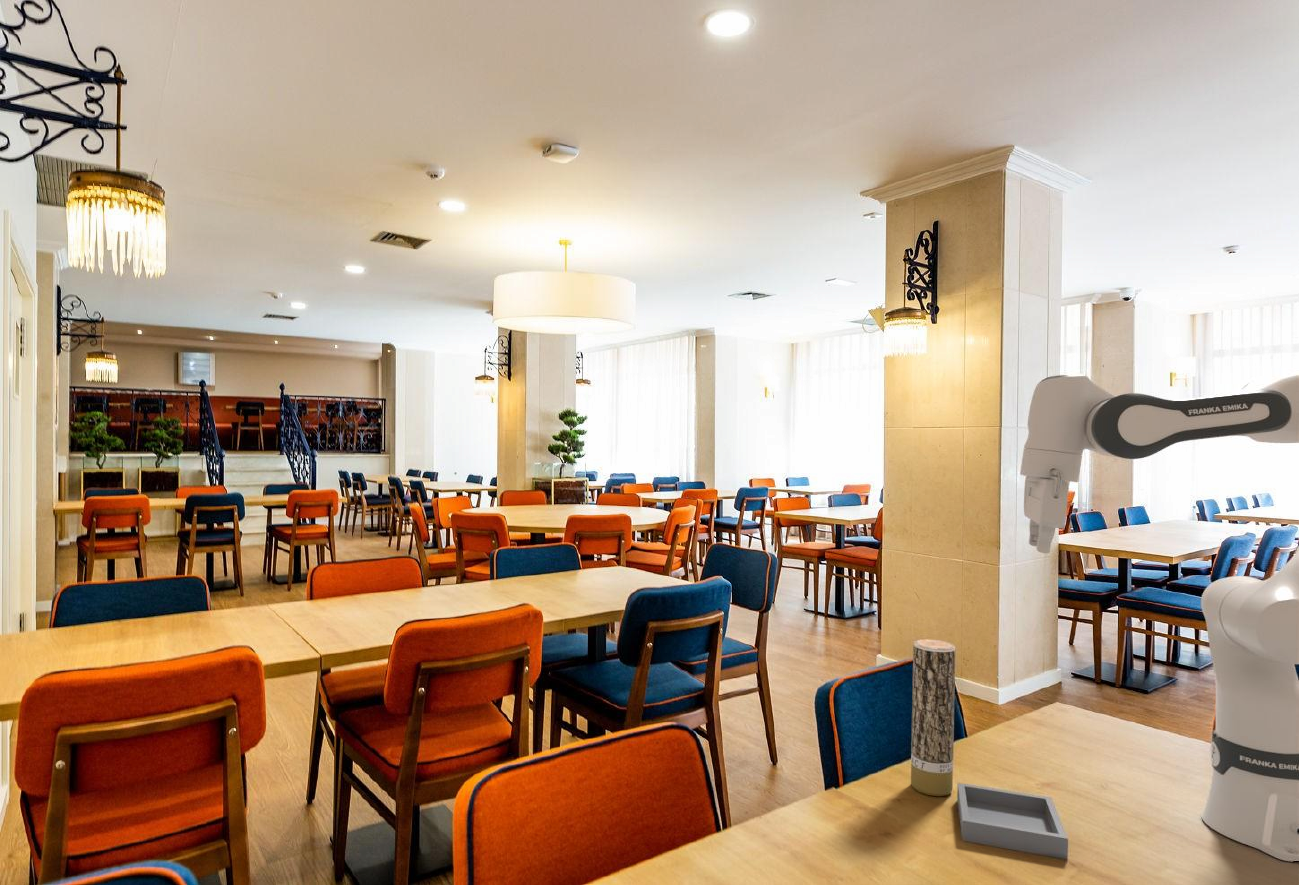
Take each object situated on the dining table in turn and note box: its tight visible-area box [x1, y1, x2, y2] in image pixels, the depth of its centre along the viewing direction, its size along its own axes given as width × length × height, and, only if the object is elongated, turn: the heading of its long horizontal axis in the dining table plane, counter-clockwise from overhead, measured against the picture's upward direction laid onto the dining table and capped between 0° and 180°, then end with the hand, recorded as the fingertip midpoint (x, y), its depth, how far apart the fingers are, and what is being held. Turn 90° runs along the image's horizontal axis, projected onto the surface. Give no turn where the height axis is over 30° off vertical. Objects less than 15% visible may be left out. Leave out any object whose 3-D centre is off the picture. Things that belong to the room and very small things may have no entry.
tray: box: [956, 782, 1069, 861], centre depth 117 cm, size 14×14×3 cm
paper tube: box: [910, 638, 956, 797], centre depth 130 cm, size 7×7×25 cm
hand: (1038, 549), depth 128 cm, fingers open, 8 cm apart
